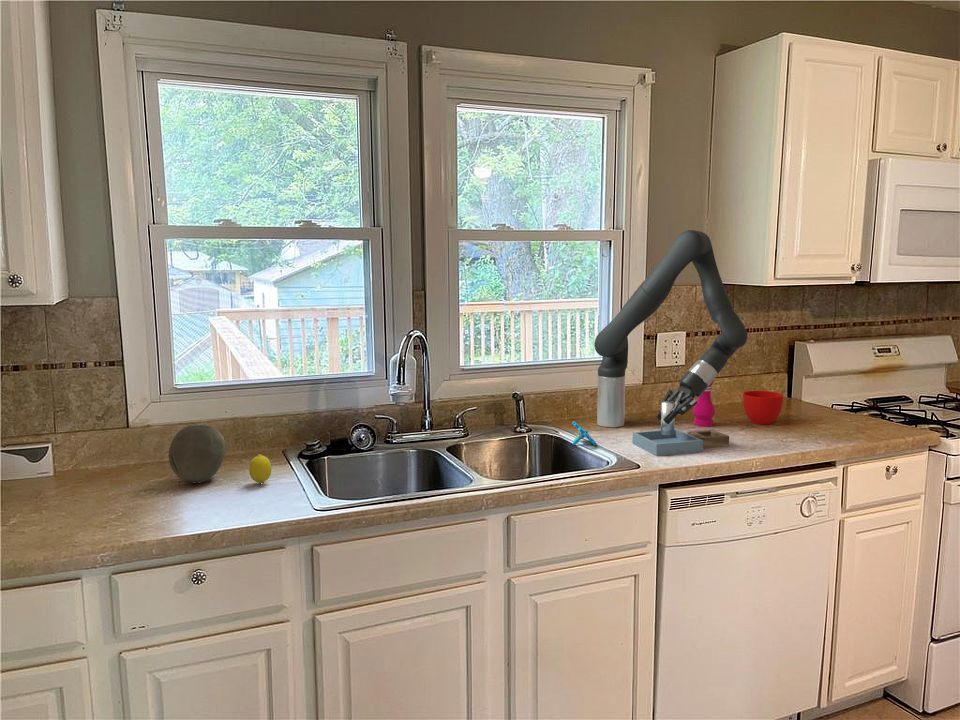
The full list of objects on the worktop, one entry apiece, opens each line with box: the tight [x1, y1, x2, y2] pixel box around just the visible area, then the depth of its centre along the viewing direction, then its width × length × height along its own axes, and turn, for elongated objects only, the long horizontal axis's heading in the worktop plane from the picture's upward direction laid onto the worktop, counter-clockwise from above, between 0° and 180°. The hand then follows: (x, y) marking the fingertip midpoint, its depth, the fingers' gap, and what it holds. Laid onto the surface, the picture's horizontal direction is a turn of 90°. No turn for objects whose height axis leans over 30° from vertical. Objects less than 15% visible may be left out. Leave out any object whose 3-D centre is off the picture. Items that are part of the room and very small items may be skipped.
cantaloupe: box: [168, 424, 227, 484], centre depth 188 cm, size 14×14×15 cm
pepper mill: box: [692, 379, 716, 428], centre depth 242 cm, size 7×7×20 cm
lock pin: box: [660, 401, 676, 435], centre depth 214 cm, size 4×4×10 cm
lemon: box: [248, 454, 272, 484], centre depth 185 cm, size 6×6×8 cm
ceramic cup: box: [742, 390, 784, 426], centre depth 246 cm, size 13×17×10 cm
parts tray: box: [631, 428, 704, 457], centre depth 215 cm, size 15×15×4 cm
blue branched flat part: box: [571, 420, 597, 446], centre depth 219 cm, size 11×6×10 cm
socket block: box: [686, 429, 730, 449], centre depth 219 cm, size 9×9×3 cm
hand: (661, 420), depth 213 cm, fingers closed on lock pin, 4 cm apart
